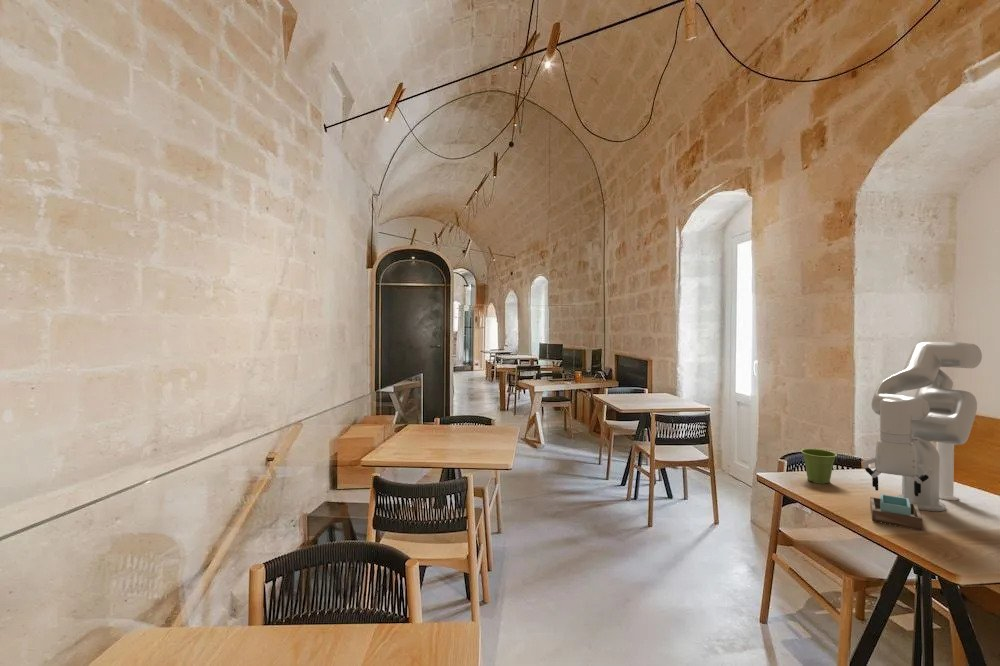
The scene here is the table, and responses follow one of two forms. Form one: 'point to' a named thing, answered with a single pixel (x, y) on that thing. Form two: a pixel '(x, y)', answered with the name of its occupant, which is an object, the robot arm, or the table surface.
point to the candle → (946, 471)
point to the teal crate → (895, 505)
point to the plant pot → (818, 464)
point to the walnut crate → (896, 516)
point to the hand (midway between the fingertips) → (896, 492)
